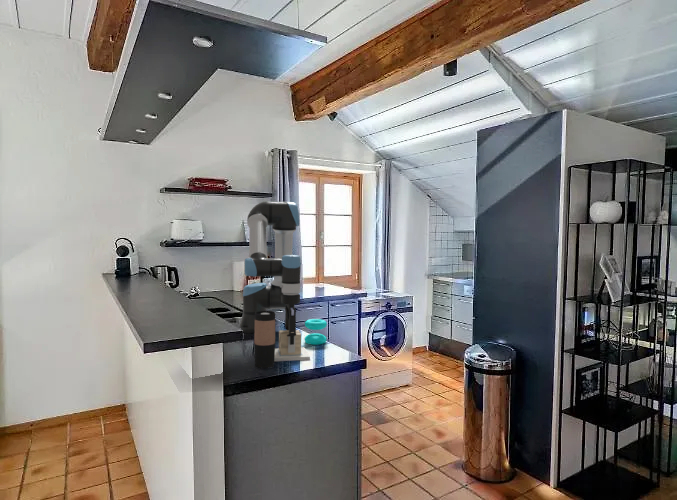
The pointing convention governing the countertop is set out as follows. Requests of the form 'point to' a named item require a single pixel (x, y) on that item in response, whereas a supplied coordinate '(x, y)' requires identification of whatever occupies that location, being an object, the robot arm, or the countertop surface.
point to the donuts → (315, 337)
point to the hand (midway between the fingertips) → (289, 348)
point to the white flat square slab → (291, 356)
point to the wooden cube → (284, 342)
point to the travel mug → (264, 339)
